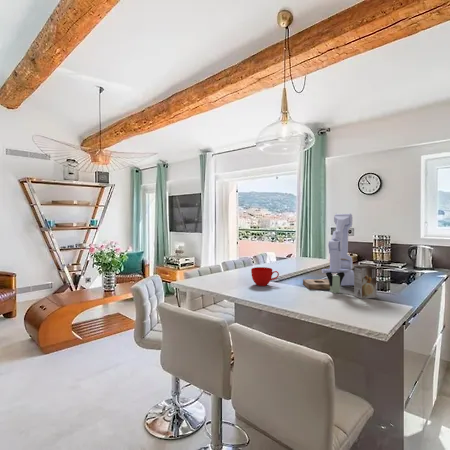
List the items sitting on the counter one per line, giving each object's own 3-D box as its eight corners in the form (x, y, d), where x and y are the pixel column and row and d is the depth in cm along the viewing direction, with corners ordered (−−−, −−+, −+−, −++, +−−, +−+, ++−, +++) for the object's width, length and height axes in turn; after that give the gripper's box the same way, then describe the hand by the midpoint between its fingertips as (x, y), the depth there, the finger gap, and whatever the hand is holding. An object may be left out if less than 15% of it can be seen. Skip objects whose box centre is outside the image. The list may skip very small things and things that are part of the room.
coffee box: (368, 294, 168) (368, 265, 168) (376, 297, 162) (377, 267, 162) (353, 296, 166) (353, 266, 165) (361, 299, 160) (362, 267, 159)
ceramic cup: (278, 288, 185) (278, 271, 185) (250, 286, 188) (250, 270, 188) (279, 283, 198) (279, 267, 197) (252, 282, 201) (252, 266, 201)
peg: (337, 291, 177) (337, 275, 177) (339, 292, 173) (339, 276, 173) (330, 291, 177) (330, 275, 177) (332, 292, 173) (332, 276, 173)
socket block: (328, 284, 195) (328, 279, 195) (336, 289, 181) (336, 284, 181) (302, 284, 195) (302, 279, 195) (308, 289, 181) (308, 284, 181)
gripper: (324, 262, 170) (324, 287, 171) (350, 262, 170) (350, 287, 171) (320, 260, 178) (320, 284, 178) (345, 260, 177) (345, 284, 178)
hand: (334, 285), depth 175 cm, fingers closed on peg, 4 cm apart
